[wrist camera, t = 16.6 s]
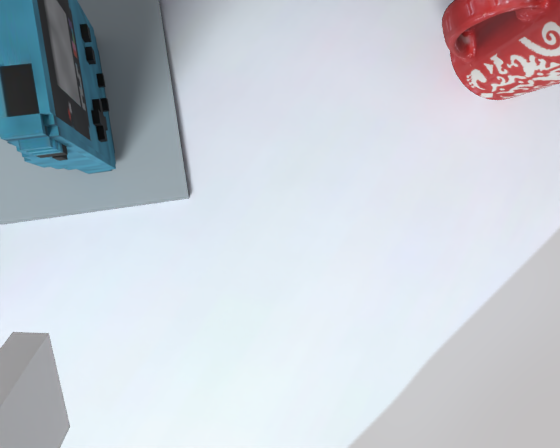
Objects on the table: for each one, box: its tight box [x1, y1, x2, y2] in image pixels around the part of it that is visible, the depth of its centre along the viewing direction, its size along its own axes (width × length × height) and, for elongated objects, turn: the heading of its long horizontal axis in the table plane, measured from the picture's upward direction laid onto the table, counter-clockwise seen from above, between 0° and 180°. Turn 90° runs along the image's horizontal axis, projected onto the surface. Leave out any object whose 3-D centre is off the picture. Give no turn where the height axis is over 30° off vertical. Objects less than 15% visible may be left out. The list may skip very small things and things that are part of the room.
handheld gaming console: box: [0, 0, 116, 174], centre depth 27 cm, size 10×4×15 cm, turn 8°
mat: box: [0, 0, 189, 225], centre depth 34 cm, size 12×14×1 cm
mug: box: [442, 0, 560, 100], centre depth 32 cm, size 13×9×14 cm
